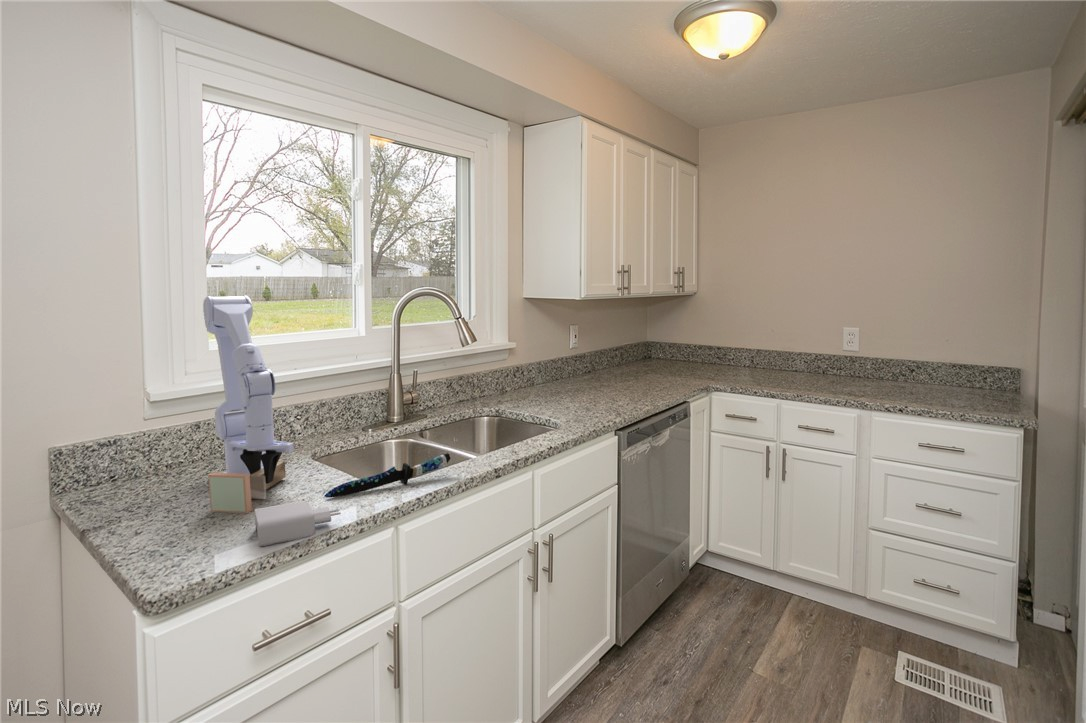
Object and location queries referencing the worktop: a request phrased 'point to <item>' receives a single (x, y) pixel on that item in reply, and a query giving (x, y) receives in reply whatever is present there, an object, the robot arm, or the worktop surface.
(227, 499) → the tile
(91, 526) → the worktop surface
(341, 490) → the knife
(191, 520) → the worktop surface
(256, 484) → the scraper
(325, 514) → the charger
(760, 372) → the worktop surface
